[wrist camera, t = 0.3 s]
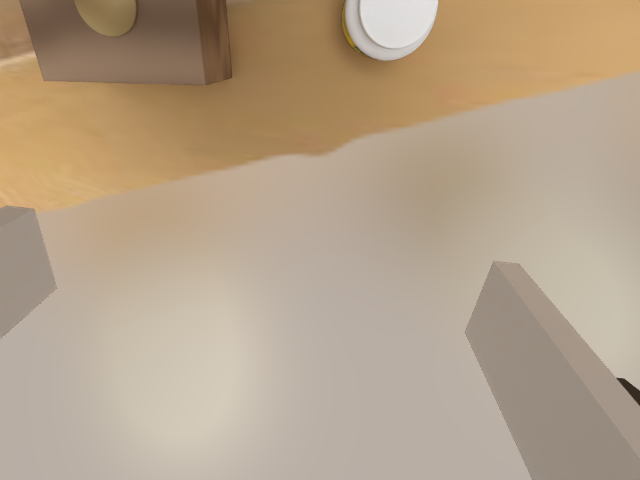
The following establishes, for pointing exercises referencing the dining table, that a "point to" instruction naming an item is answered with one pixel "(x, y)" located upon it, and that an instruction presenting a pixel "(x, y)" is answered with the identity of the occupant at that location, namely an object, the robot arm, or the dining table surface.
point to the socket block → (130, 40)
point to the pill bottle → (387, 26)
